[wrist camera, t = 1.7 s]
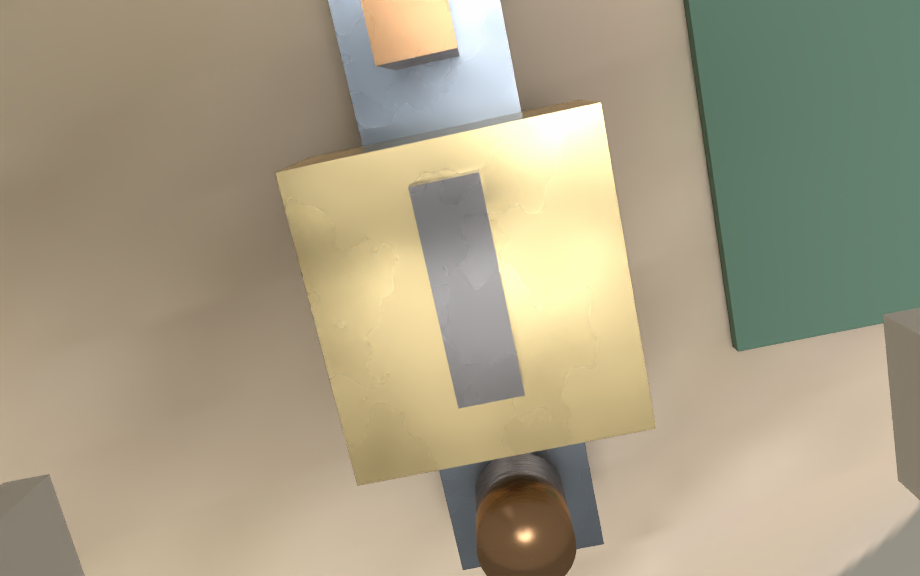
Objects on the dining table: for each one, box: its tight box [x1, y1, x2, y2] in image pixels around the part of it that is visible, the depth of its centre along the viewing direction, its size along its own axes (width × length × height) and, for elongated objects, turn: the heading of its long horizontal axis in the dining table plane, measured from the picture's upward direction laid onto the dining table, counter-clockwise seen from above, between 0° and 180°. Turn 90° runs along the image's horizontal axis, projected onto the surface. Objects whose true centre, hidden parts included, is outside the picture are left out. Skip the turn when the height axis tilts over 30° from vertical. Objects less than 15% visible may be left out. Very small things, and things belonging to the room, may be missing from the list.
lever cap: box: [275, 100, 656, 486], centre depth 24 cm, size 9×8×5 cm
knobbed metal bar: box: [328, 0, 604, 576], centre depth 26 cm, size 21×5×10 cm, turn 12°
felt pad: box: [684, 0, 920, 351], centre depth 30 cm, size 14×10×1 cm
